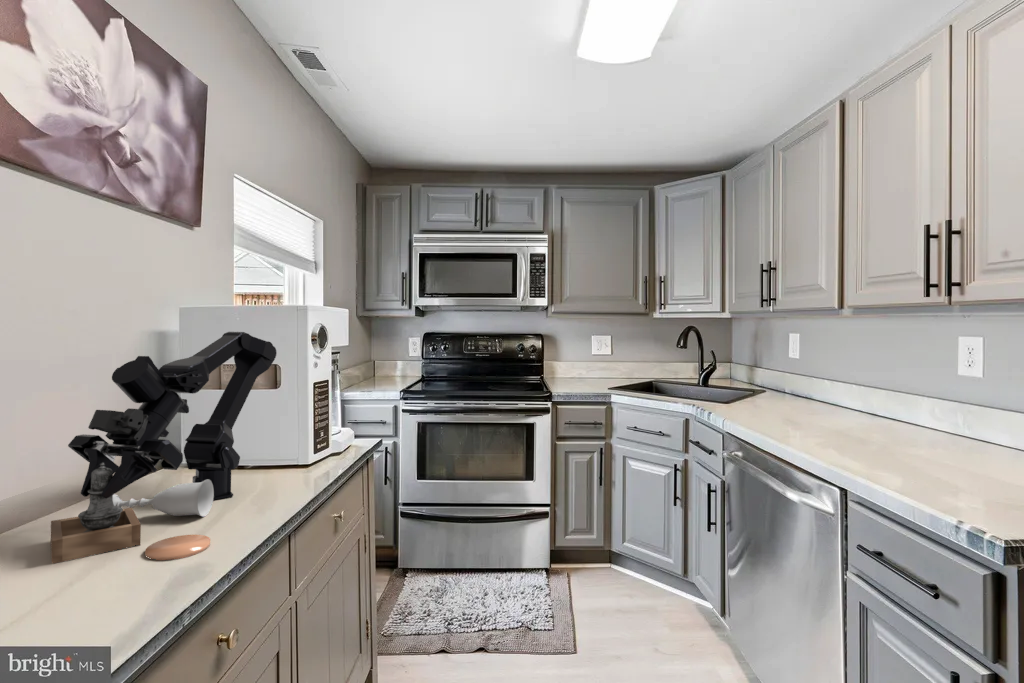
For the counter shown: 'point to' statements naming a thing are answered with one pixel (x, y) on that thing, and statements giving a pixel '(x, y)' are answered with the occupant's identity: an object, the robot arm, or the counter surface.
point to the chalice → (178, 499)
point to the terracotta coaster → (177, 547)
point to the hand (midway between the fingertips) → (93, 496)
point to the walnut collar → (92, 537)
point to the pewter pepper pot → (100, 503)
